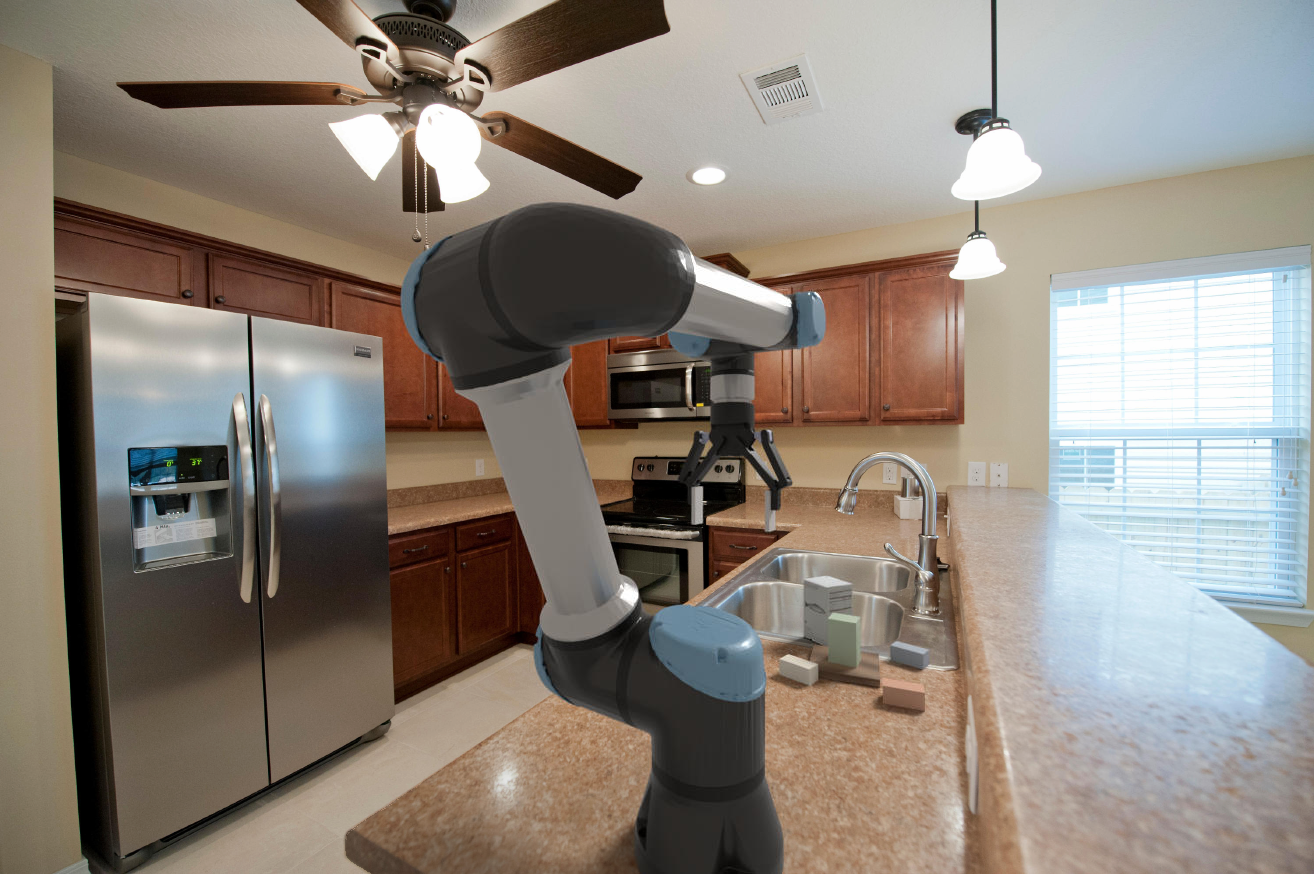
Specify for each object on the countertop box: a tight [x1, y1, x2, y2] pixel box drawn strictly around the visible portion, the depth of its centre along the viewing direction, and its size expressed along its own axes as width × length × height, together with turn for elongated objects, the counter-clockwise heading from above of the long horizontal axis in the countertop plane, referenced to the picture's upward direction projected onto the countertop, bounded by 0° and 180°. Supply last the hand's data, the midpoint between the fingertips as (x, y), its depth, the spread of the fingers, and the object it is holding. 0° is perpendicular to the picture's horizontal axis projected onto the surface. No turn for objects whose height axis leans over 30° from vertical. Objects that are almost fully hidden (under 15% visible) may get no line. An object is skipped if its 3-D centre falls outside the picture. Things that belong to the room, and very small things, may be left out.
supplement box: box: [803, 575, 854, 646], centre depth 109 cm, size 7×7×13 cm
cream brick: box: [778, 654, 819, 687], centre depth 91 cm, size 6×3×3 cm, turn 44°
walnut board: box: [809, 644, 881, 688], centre depth 95 cm, size 12×12×1 cm
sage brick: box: [828, 613, 862, 668], centre depth 95 cm, size 4×5×8 cm
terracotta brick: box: [882, 677, 926, 712], centre depth 82 cm, size 6×3×3 cm, turn 66°
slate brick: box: [889, 640, 930, 670], centre depth 97 cm, size 6×3×3 cm, turn 44°
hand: (732, 527), depth 87 cm, fingers open, 13 cm apart
